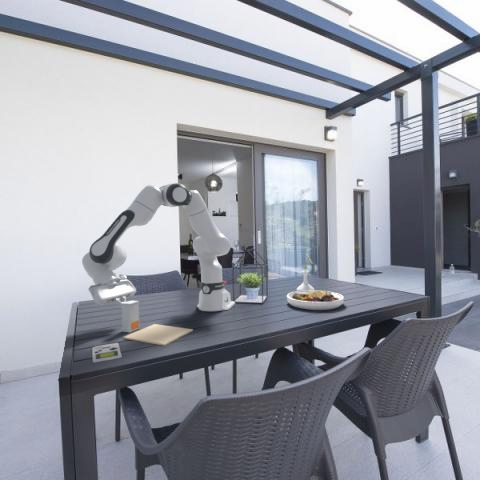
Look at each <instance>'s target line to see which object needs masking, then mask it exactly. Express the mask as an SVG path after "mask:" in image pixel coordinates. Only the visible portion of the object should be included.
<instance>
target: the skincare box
mask: <svg viewBox="0 0 480 480" xmlns="http://www.w3.org/2000/svg"><path fill="white" fill-rule="evenodd" d="M139 303H140V301H139V300H129V301H127V300H126V302H125V303H122V308H121V327H122V328H121V331H122V332H123V333H133V332H134V331H136V330H137V331H138V330H139V329H140V310H139V309H140V307H139V306H140V304H139Z"/></svg>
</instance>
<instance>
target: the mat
mask: <svg viewBox="0 0 480 480" xmlns="http://www.w3.org/2000/svg"><path fill="white" fill-rule="evenodd" d="M193 331H194V329H193V328H185V327H178V326H172V325H171V326H170V325H165V324H164V325H163V324H157V323H153V324H151V325H149V326H147V327H144V328H141V329H140V330H139V329H138V330H137V331H135V332H134V331H133V332H131V333H130V334H127V335H125V336H123V339H125V340H130V341H135V342H142V343H147V344H153V345H158V346H164V347H165V346H167V345H169V344H171V343H173V342H175V341H176V340H179V339H180V338H182V337H184V336H185V335H188V334H190V333H192V332H193Z"/></svg>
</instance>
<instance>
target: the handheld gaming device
mask: <svg viewBox="0 0 480 480" xmlns="http://www.w3.org/2000/svg"><path fill="white" fill-rule="evenodd" d="M121 351H122V350H121V348H120V345H119V343H118V342H114V343H108V344H102V345H97V346H94V347H92V363H95V364H96V363H100V362H105V361H110V360H116V359H121V358H122V357H123V356H122V352H121Z"/></svg>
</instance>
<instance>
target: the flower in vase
mask: <svg viewBox="0 0 480 480" xmlns="http://www.w3.org/2000/svg"><path fill="white" fill-rule="evenodd" d="M305 255H306V257H307V260H306V262H305V265H304V267H303V270H301V273H302V276H303V282H302V283H301V284H300V285H299V286H297V288H296V291H308V290H315V288H314V287H313V286H312V285H311V284H309V282H308V274H309V272H310V270H307V269H308V265H307V263H308V261H309V262H310V264H311V265H313V264H314V263H313V261H312V260H311V258H310V256H309V255H308V253H306V254H305Z"/></svg>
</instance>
